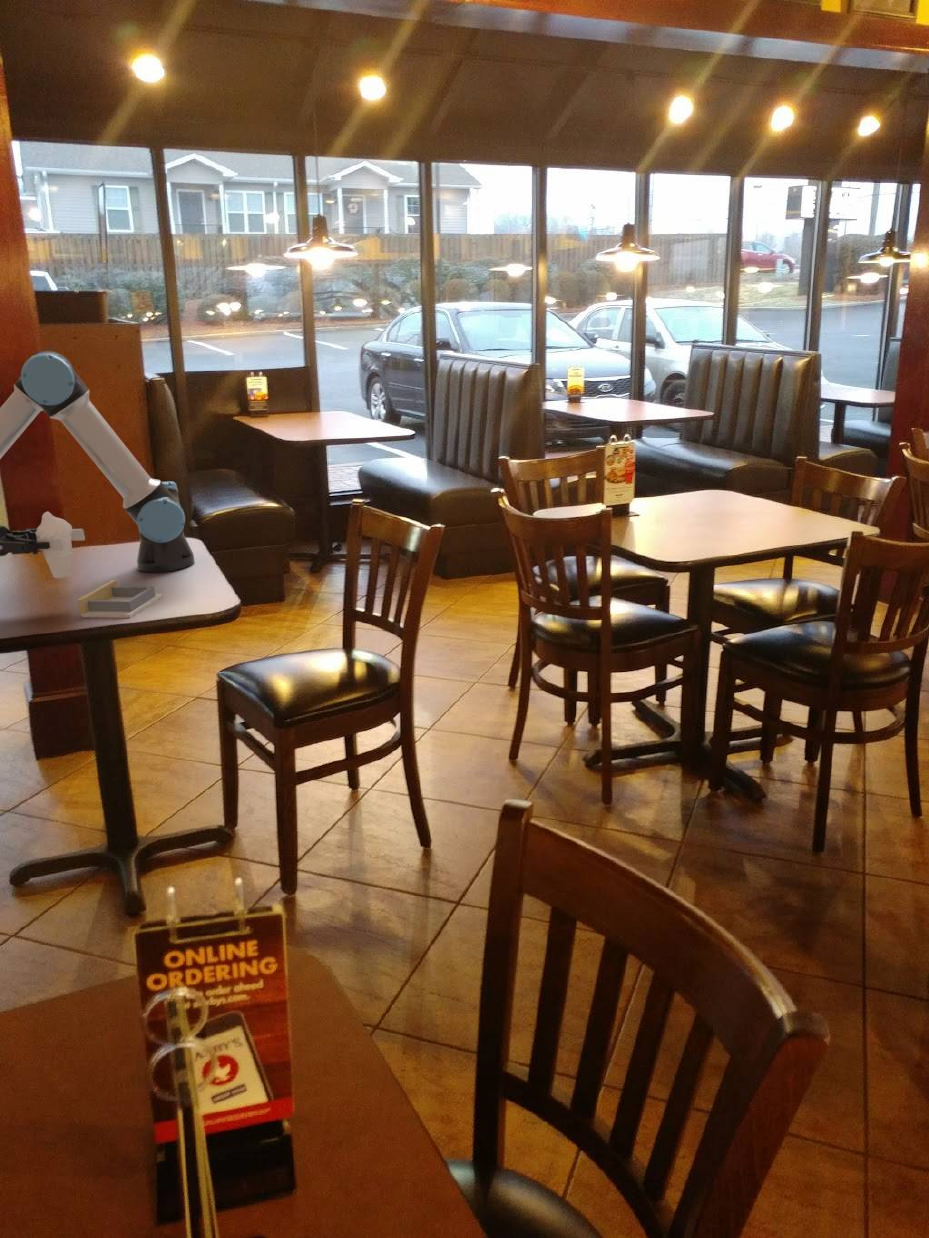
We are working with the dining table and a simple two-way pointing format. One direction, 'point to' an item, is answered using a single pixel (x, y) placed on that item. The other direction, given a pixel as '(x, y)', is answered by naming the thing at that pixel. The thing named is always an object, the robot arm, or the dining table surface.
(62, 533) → the soft serve ice cream cone
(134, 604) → the grey shallow tray
